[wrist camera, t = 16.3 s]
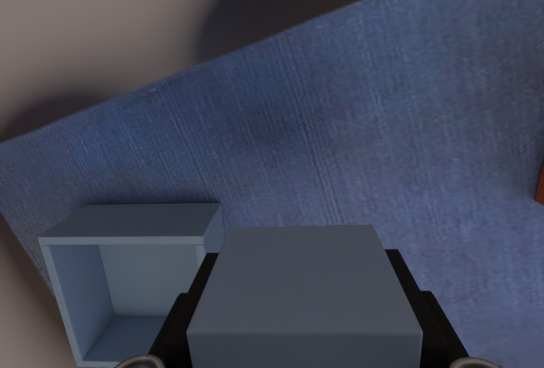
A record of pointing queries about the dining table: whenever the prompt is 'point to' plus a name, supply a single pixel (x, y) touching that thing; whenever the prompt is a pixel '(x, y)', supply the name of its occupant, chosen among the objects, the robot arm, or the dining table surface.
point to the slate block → (304, 302)
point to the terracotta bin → (540, 188)
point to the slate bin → (125, 272)
